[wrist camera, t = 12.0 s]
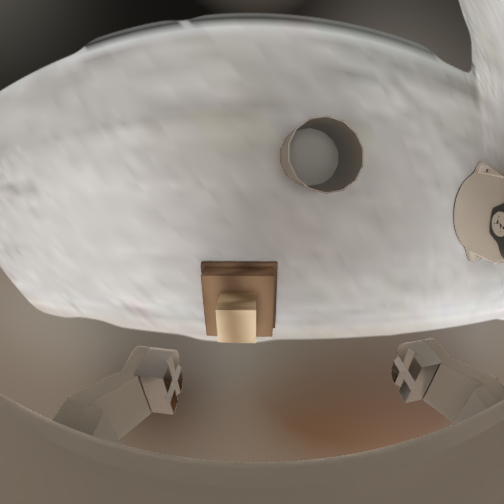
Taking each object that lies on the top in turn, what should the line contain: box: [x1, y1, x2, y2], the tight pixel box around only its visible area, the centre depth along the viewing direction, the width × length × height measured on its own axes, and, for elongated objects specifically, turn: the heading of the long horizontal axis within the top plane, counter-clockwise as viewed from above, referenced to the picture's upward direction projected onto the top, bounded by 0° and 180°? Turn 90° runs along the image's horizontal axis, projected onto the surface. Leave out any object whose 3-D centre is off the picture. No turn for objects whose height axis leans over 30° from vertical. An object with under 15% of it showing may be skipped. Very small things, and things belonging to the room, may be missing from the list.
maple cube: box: [216, 292, 256, 343], centre depth 36 cm, size 5×5×5 cm
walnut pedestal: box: [201, 262, 277, 337], centre depth 41 cm, size 11×11×4 cm
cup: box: [280, 116, 364, 194], centre depth 31 cm, size 8×8×10 cm
